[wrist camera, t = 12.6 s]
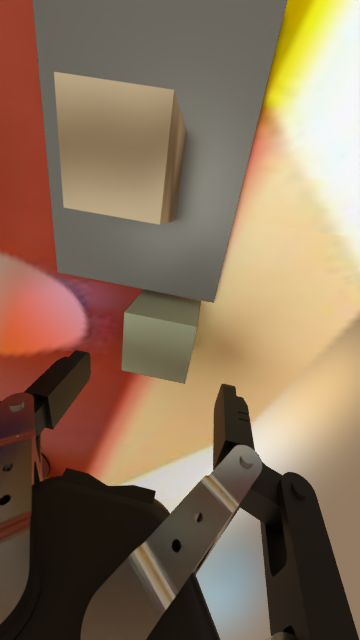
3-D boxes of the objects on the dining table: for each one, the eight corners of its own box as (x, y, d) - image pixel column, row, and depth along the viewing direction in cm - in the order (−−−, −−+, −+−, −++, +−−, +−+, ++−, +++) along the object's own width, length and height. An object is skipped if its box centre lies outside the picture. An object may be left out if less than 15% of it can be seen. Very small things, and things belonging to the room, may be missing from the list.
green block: (190, 347, 22) (184, 383, 17) (139, 337, 22) (121, 370, 17) (200, 300, 19) (197, 327, 15) (144, 289, 20) (124, 312, 15)
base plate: (213, 297, 19) (213, 302, 18) (66, 268, 20) (57, 272, 18) (281, 14, 12) (288, -5, 11) (44, -18, 12) (28, -40, 11)
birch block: (174, 220, 16) (159, 224, 11) (105, 208, 16) (63, 207, 11) (186, 129, 13) (174, 89, 9) (105, 117, 14) (53, 71, 9)
